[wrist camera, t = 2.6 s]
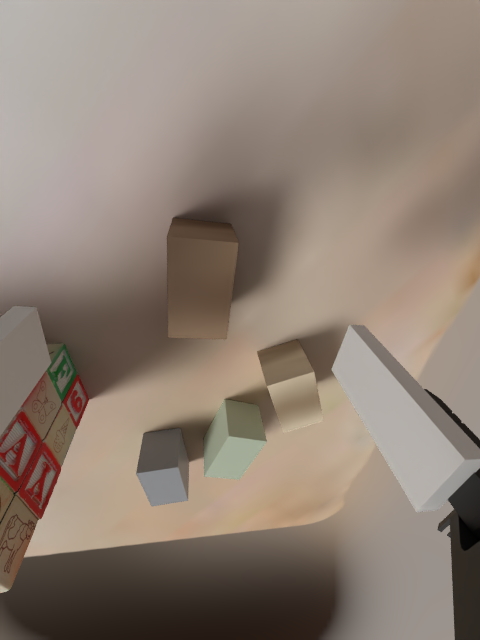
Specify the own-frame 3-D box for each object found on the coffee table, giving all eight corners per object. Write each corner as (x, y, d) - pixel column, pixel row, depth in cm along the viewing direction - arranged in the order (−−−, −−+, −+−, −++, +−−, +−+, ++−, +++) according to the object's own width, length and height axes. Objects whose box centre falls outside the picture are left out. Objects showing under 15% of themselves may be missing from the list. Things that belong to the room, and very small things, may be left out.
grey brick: (143, 432, 27) (136, 473, 23) (180, 427, 27) (178, 467, 24) (156, 465, 30) (151, 506, 27) (188, 461, 30) (188, 500, 27)
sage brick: (224, 397, 26) (228, 436, 22) (258, 404, 27) (267, 441, 23) (203, 437, 28) (204, 476, 25) (234, 441, 29) (239, 479, 26)
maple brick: (256, 350, 23) (267, 386, 20) (296, 338, 23) (314, 371, 20) (272, 396, 26) (283, 433, 23) (307, 385, 26) (323, 421, 23)
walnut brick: (173, 217, 17) (166, 236, 13) (230, 223, 17) (238, 243, 14) (172, 304, 20) (167, 337, 16) (221, 306, 20) (226, 339, 17)
